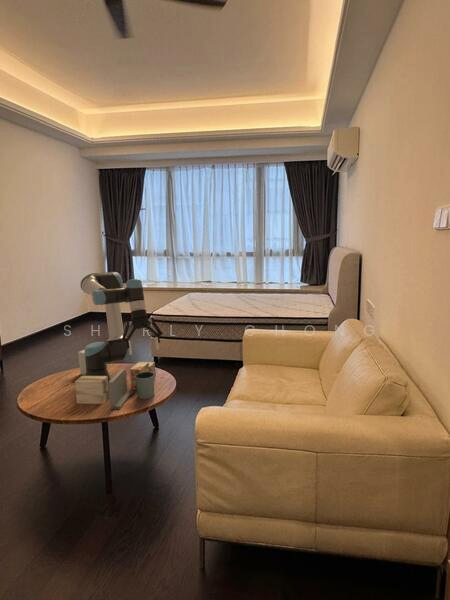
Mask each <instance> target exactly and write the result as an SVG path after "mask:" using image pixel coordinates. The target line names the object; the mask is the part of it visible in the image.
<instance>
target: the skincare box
mask: <svg viewBox="0 0 450 600" xmlns="http://www.w3.org/2000/svg"><path fill="white" fill-rule="evenodd" d="M84 354H85V349H83V350H80V351H78V352H77V355H78V356H77V357H78V365H79V370H80V371H79V372H80V375H82V376H85V373H86V364H85V356H84Z"/></svg>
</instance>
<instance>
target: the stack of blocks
mask: <svg viewBox="0 0 450 600" xmlns="http://www.w3.org/2000/svg"><path fill="white" fill-rule="evenodd" d="M141 372H153V373H154V374H155V377H154V379H155V378H156V377H157V376H156V375H157V373H156V364H155V361H138V362H137V363H136V364H134V365H133V366H132V367H131V368H130V369H129V378H130V390H133V391H134V390H135V391H136V390H137V385H136V380H135V375H136V374H138V373H141Z"/></svg>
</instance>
